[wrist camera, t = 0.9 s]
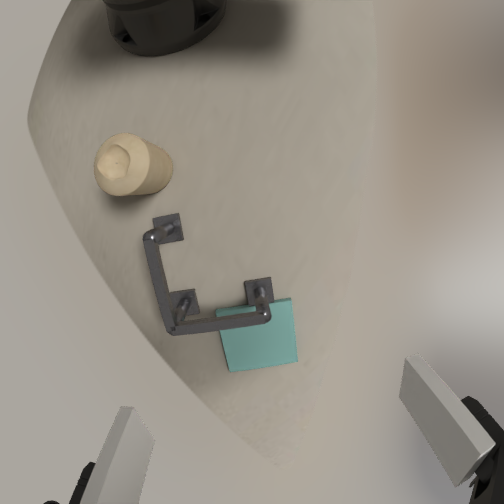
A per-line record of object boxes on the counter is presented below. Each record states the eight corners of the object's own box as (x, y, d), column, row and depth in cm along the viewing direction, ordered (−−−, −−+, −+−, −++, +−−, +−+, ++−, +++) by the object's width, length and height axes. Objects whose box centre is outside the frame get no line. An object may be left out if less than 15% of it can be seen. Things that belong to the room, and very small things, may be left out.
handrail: (154, 217, 30) (129, 226, 23) (258, 199, 30) (264, 201, 23) (176, 314, 33) (161, 345, 26) (273, 300, 33) (282, 330, 26)
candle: (128, 194, 30) (85, 198, 20) (129, 148, 28) (87, 134, 19) (173, 193, 30) (143, 195, 20) (174, 145, 29) (145, 126, 19)
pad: (216, 309, 33) (215, 312, 32) (290, 297, 33) (291, 300, 32) (230, 368, 35) (229, 372, 34) (296, 358, 35) (297, 361, 34)
